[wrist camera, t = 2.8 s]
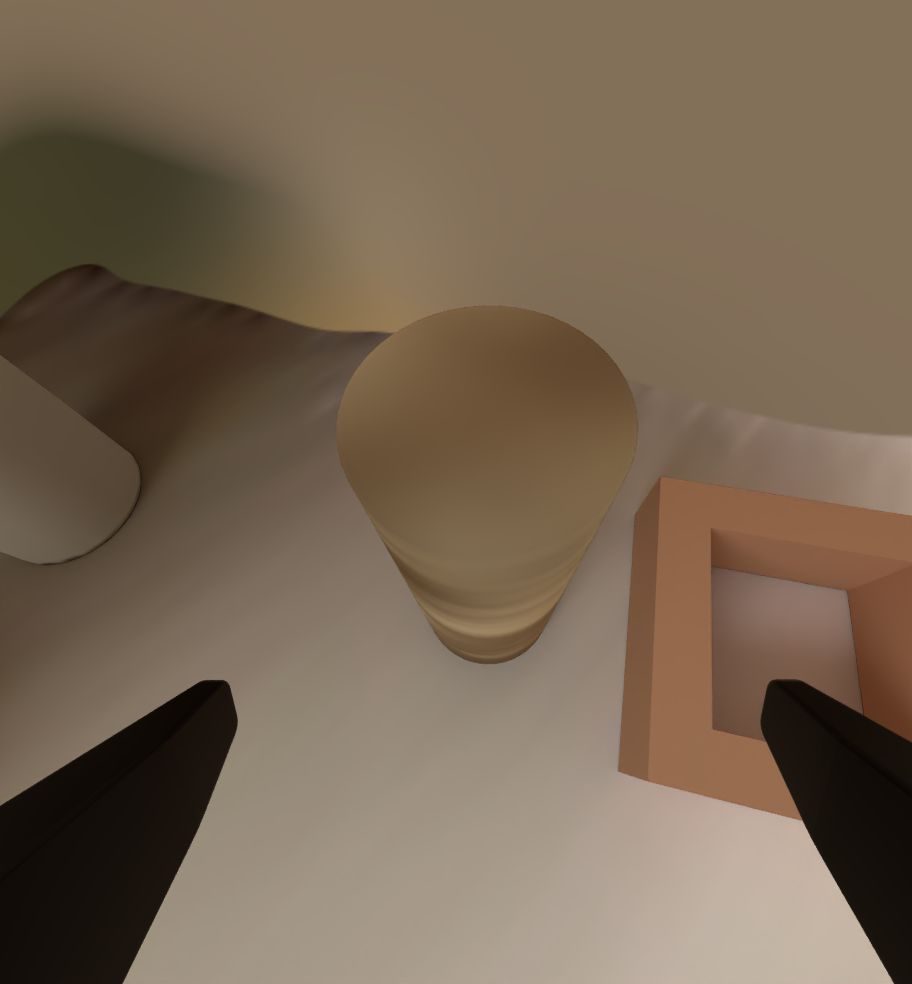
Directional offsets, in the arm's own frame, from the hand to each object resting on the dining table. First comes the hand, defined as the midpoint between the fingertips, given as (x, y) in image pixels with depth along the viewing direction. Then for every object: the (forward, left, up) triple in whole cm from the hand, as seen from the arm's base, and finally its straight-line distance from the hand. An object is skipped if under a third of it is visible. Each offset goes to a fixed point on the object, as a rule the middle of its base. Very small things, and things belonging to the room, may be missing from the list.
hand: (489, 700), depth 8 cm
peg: (+3, -3, -11) cm, 12 cm away
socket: (-5, -10, -11) cm, 15 cm away
